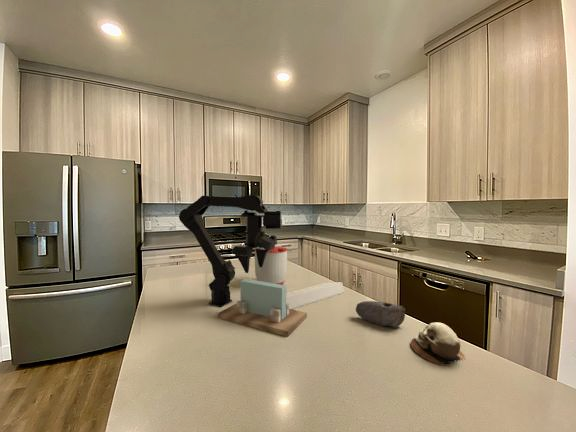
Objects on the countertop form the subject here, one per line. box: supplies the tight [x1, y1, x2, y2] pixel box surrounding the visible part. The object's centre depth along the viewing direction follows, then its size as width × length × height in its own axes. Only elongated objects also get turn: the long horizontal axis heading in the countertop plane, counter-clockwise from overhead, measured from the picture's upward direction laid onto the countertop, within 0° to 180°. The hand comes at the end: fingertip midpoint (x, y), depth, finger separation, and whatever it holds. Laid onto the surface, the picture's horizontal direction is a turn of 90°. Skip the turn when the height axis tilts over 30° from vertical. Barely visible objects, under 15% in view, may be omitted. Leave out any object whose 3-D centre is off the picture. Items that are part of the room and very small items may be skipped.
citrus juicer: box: [253, 246, 288, 285], centre depth 116 cm, size 16×17×20 cm
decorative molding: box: [286, 281, 345, 310], centre depth 99 cm, size 34×5×10 cm
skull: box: [410, 321, 466, 367], centre depth 63 cm, size 12×10×10 cm
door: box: [240, 278, 287, 320], centre depth 81 cm, size 16×3×10 cm, turn 63°
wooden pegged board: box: [217, 300, 308, 338], centre depth 82 cm, size 26×14×5 cm, turn 63°
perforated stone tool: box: [355, 300, 406, 329], centre depth 78 cm, size 15×5×7 cm, turn 54°
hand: (254, 269), depth 92 cm, fingers open, 9 cm apart
